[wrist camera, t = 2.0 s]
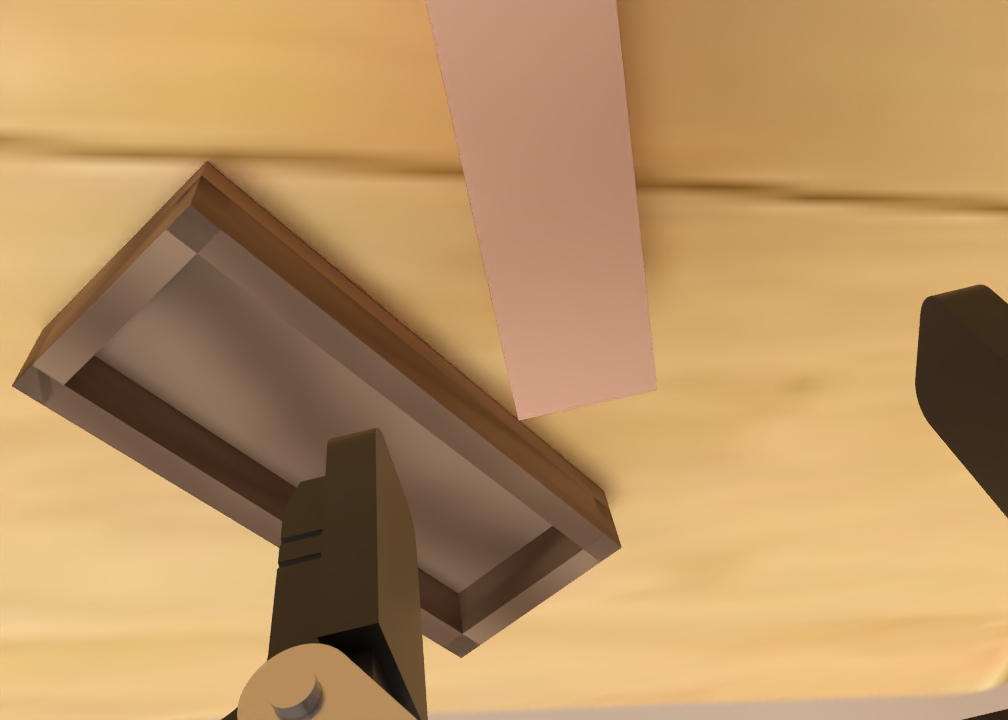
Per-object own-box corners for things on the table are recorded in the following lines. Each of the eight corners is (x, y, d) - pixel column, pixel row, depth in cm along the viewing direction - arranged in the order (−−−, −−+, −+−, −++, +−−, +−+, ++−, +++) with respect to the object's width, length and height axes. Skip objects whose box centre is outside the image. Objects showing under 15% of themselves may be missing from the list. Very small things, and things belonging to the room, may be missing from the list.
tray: (206, 161, 26) (190, 205, 24) (603, 491, 36) (621, 547, 33) (42, 330, 29) (11, 386, 26) (455, 598, 38) (461, 657, 35)
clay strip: (379, -205, 22) (383, -189, 17) (541, -240, 22) (591, -235, 17) (494, 311, 31) (518, 420, 26) (610, 285, 31) (657, 390, 26)
